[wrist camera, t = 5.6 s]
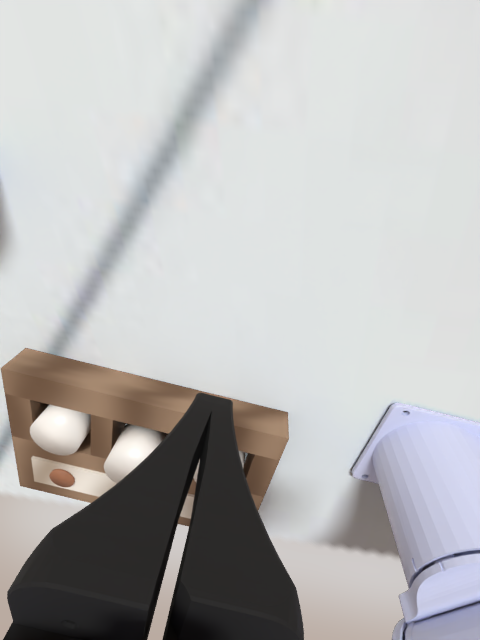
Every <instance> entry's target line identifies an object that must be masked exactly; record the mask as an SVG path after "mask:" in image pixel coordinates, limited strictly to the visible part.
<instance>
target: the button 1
mask: <svg viewBox="0 0 480 640" xmlns="http://www.w3.org/2000/svg"><path fill="white" fill-rule="evenodd" d="M90 430H91V414H86V413H82V412H78V411H74V410H70V409H66V408H62V407H58V406H54V405H50V404H49V405H48V407H47V408H46V409H45V410H44V411H43V412H42V413H41V415H40V416H39V417H38V418H37V419H36V420H35V421H34V423H33V424H32V425H31V427H30V435H31V437H32V439H33V440H34V442H35V443H36V444H37V445H38V446H40V447H41V448H42V449H44V450H46V451H48V452H50V453H52V454H56V455H70V454H73V453H75V452H76V451H77V450H78V448H79V447H80V445H81V444H82V442H83V441H84V439H85V437H86V436H87V434H88V433H89V431H90Z"/></svg>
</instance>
